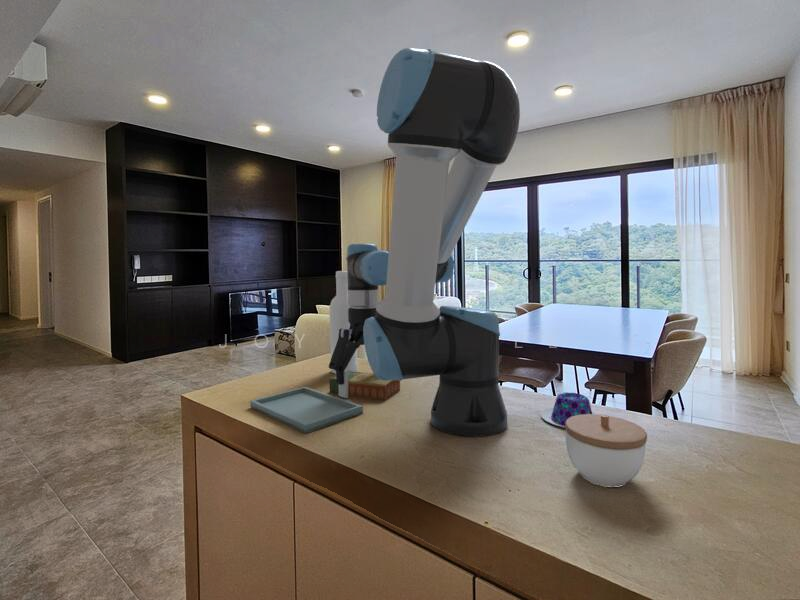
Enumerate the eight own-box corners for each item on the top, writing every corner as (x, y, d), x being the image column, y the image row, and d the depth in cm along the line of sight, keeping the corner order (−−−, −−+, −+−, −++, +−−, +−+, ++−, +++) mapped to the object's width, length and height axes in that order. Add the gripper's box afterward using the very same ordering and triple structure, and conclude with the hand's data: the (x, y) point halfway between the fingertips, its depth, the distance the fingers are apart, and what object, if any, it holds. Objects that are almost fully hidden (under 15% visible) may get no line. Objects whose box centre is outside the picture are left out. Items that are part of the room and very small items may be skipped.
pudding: (529, 421, 85) (530, 395, 84) (558, 407, 93) (558, 384, 92) (588, 438, 76) (589, 410, 76) (614, 421, 84) (615, 396, 84)
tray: (362, 413, 89) (362, 405, 89) (305, 433, 79) (305, 425, 79) (305, 392, 104) (304, 386, 104) (250, 407, 93) (250, 400, 93)
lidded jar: (663, 490, 58) (666, 424, 57) (600, 503, 55) (602, 434, 54) (605, 456, 68) (607, 400, 68) (549, 465, 65) (550, 407, 64)
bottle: (362, 371, 124) (361, 271, 121) (341, 376, 119) (338, 271, 116) (347, 367, 130) (345, 270, 127) (325, 371, 124) (323, 271, 122)
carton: (386, 402, 98) (385, 384, 97) (328, 394, 104) (328, 377, 104) (400, 391, 105) (400, 375, 105) (346, 384, 112) (345, 369, 111)
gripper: (387, 302, 115) (388, 377, 117) (312, 310, 96) (314, 399, 98) (408, 303, 110) (408, 382, 111) (332, 312, 91) (334, 406, 93)
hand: (364, 390), depth 105 cm, fingers open, 13 cm apart
